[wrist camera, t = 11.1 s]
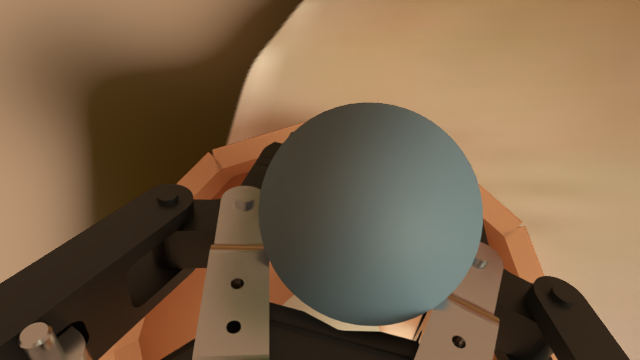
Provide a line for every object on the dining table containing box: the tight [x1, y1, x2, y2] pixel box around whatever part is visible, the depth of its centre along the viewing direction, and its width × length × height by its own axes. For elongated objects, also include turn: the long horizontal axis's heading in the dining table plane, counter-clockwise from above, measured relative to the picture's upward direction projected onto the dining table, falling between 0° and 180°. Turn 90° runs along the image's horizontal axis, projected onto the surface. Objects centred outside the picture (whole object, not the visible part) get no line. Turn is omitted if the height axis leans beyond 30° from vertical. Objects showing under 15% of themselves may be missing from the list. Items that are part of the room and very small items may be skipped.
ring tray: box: [98, 122, 557, 360], centre depth 21 cm, size 23×23×4 cm
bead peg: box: [258, 103, 483, 326], centre depth 13 cm, size 4×4×10 cm
